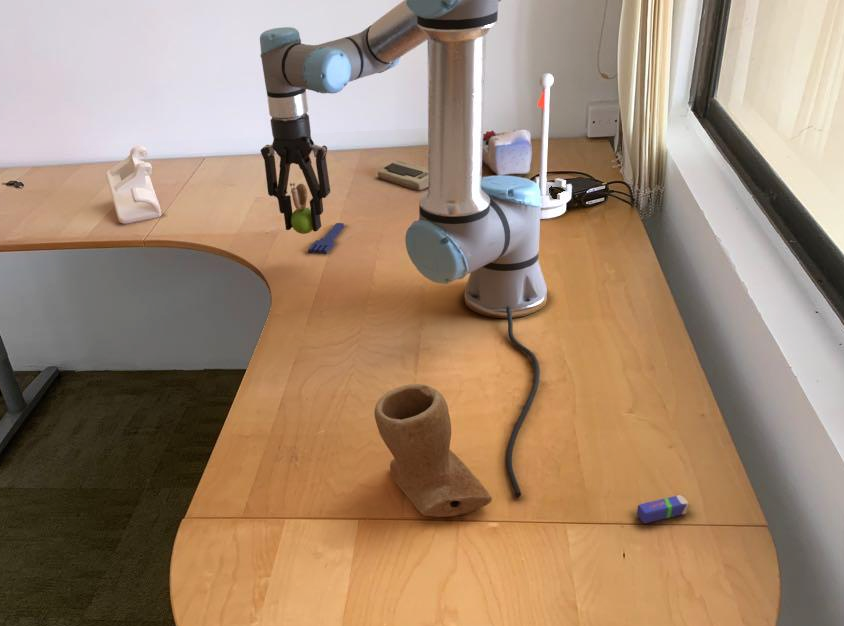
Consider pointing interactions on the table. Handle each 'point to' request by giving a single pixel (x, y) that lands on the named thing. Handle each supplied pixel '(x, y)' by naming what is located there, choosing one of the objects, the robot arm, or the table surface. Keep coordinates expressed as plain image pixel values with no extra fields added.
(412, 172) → the computer
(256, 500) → the table surface
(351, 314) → the table surface
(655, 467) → the table surface
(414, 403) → the clay pipe
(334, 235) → the fork
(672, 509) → the eraser
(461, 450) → the table surface
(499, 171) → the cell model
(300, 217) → the snail figurine
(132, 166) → the white angular piece
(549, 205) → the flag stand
